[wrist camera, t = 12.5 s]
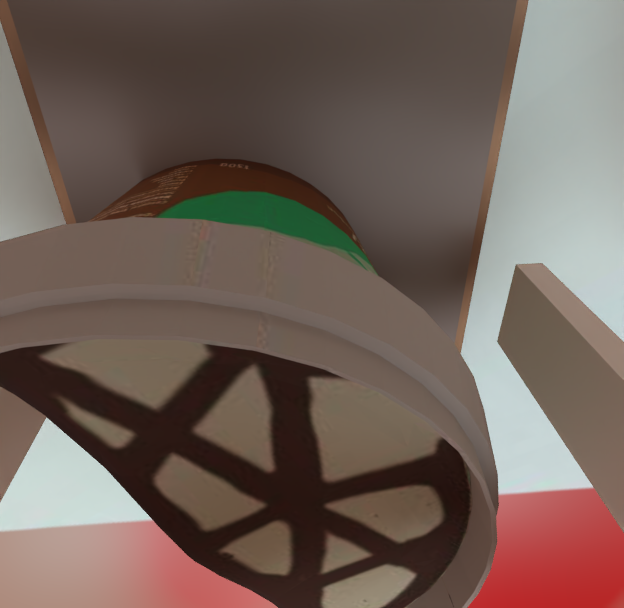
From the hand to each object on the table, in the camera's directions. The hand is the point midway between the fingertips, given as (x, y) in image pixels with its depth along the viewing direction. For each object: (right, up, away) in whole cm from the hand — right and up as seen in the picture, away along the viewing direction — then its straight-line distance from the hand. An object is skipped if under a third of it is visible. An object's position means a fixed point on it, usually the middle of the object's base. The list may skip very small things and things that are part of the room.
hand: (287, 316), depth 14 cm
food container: (0, +2, +3) cm, 3 cm away
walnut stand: (-1, +4, +6) cm, 8 cm away
